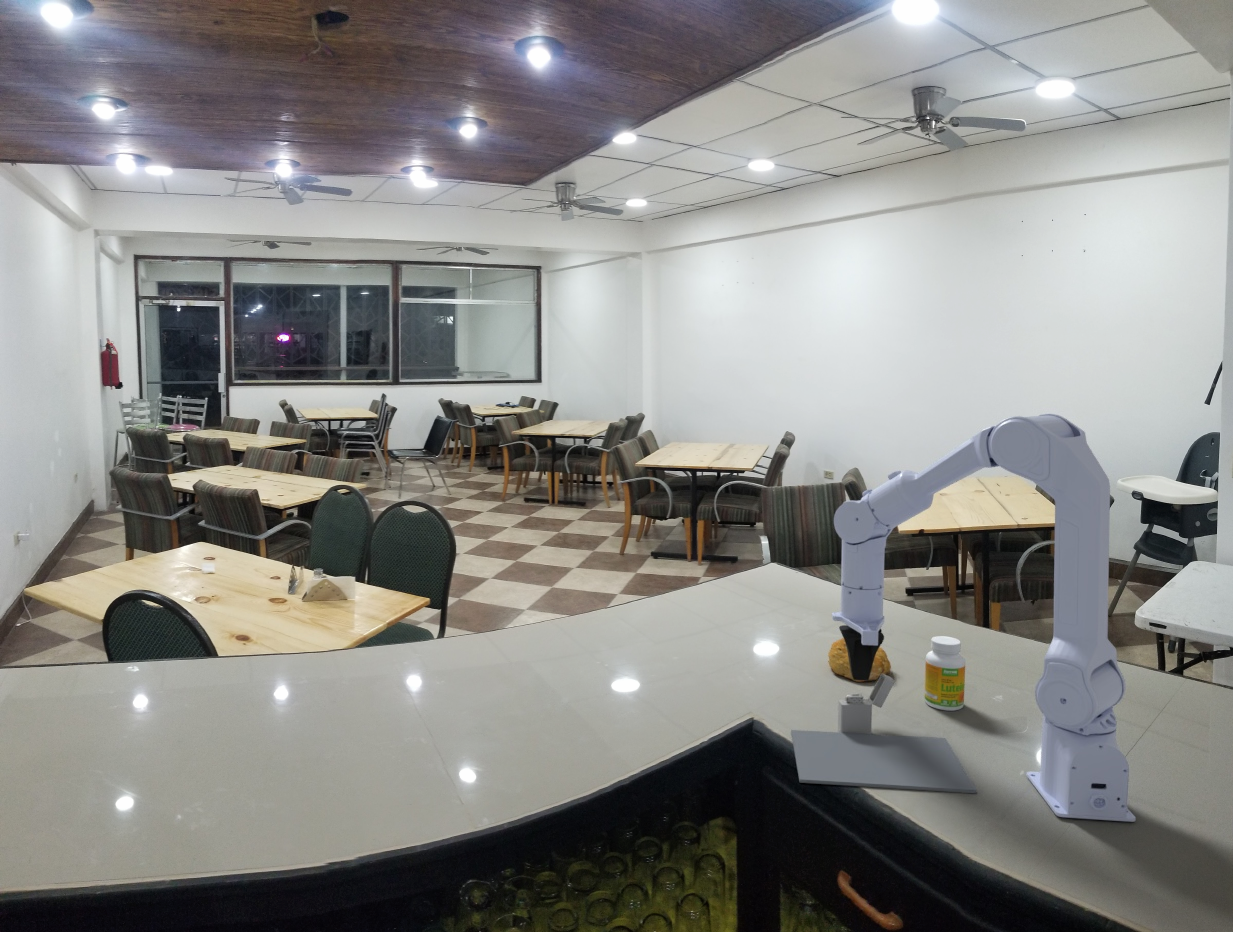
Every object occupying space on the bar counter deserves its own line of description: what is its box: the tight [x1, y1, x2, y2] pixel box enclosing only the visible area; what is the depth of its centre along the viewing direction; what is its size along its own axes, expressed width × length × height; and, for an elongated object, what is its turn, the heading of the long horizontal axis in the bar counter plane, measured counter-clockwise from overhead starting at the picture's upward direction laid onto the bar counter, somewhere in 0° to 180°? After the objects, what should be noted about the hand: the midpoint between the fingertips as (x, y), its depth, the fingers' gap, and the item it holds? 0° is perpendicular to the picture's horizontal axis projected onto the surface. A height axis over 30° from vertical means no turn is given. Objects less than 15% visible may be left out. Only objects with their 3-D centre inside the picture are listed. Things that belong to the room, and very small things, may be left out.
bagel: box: [827, 637, 892, 683], centre depth 129 cm, size 10×11×5 cm
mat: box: [790, 729, 978, 794], centre depth 99 cm, size 14×20×1 cm
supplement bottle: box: [923, 635, 966, 712], centre depth 115 cm, size 5×5×10 cm
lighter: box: [837, 673, 895, 734], centre depth 106 cm, size 7×2×8 cm, turn 92°
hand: (860, 678), depth 111 cm, fingers closed
